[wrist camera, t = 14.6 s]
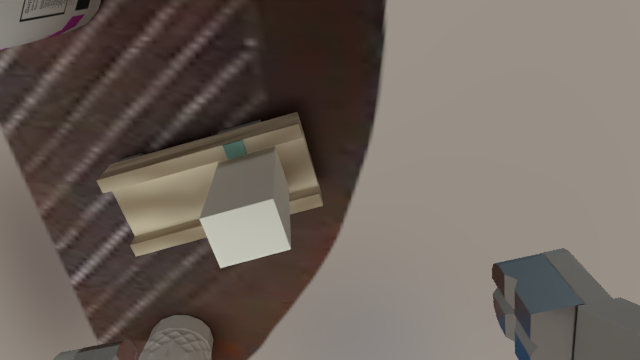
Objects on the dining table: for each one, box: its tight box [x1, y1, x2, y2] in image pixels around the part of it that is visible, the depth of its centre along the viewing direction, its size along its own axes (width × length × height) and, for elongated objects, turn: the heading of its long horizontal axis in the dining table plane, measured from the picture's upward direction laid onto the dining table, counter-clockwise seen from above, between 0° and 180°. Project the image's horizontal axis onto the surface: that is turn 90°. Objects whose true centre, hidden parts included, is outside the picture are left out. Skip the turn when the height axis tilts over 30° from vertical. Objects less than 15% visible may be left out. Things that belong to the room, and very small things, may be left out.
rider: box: [199, 146, 291, 268], centre depth 35 cm, size 4×5×10 cm
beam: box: [96, 112, 323, 256], centre depth 41 cm, size 8×17×6 cm, turn 105°
